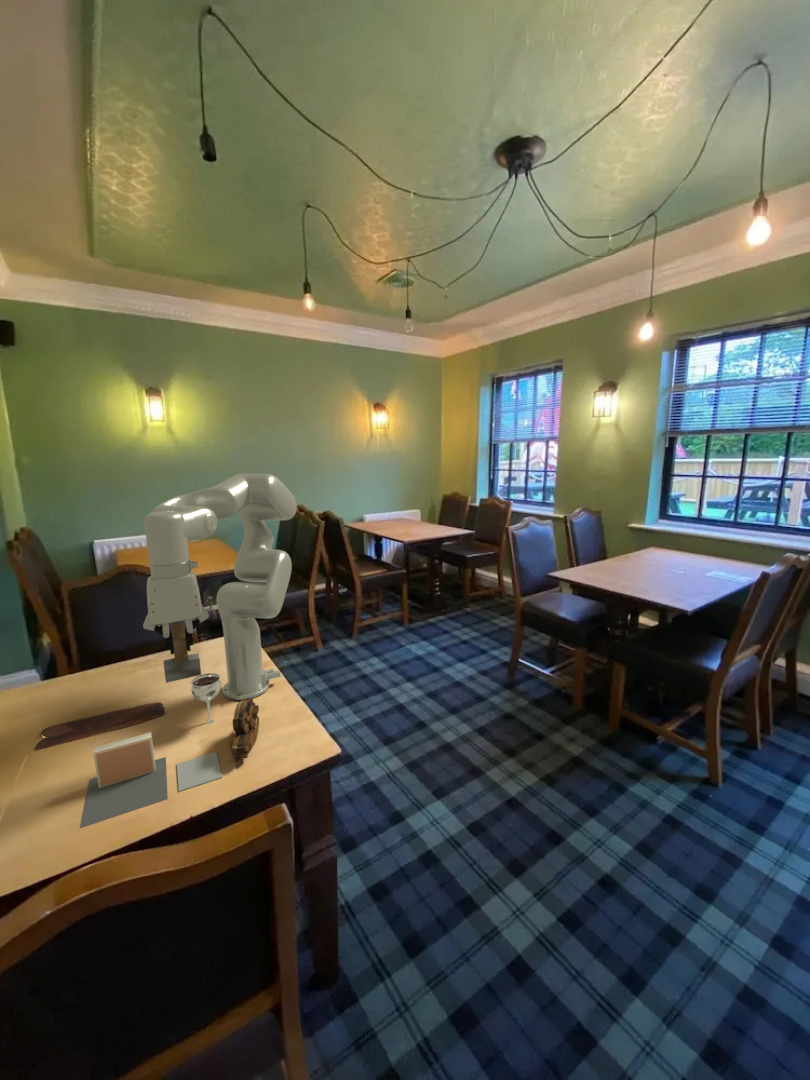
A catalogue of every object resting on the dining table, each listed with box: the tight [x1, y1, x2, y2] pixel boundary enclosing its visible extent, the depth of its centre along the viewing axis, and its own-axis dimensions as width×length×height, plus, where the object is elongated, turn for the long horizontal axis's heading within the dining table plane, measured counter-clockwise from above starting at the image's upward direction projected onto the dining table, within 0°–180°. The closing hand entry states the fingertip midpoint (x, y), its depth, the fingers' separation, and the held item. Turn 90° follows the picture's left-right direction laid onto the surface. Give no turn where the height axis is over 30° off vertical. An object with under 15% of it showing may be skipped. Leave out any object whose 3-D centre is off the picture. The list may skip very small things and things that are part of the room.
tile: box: [92, 732, 156, 788], centre depth 92 cm, size 10×2×8 cm, turn 119°
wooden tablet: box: [34, 701, 166, 751], centre depth 112 cm, size 26×2×10 cm
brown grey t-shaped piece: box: [163, 621, 202, 684], centre depth 98 cm, size 7×3×15 cm, turn 119°
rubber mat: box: [79, 756, 169, 829], centre depth 90 cm, size 14×14×1 cm
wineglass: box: [190, 672, 222, 725], centre depth 111 cm, size 7×7×12 cm
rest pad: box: [176, 751, 223, 793], centre depth 95 cm, size 8×9×1 cm
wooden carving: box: [231, 697, 260, 761], centre depth 103 cm, size 16×5×10 cm, turn 12°
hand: (180, 649), depth 98 cm, fingers closed on brown grey t-shaped piece, 2 cm apart
